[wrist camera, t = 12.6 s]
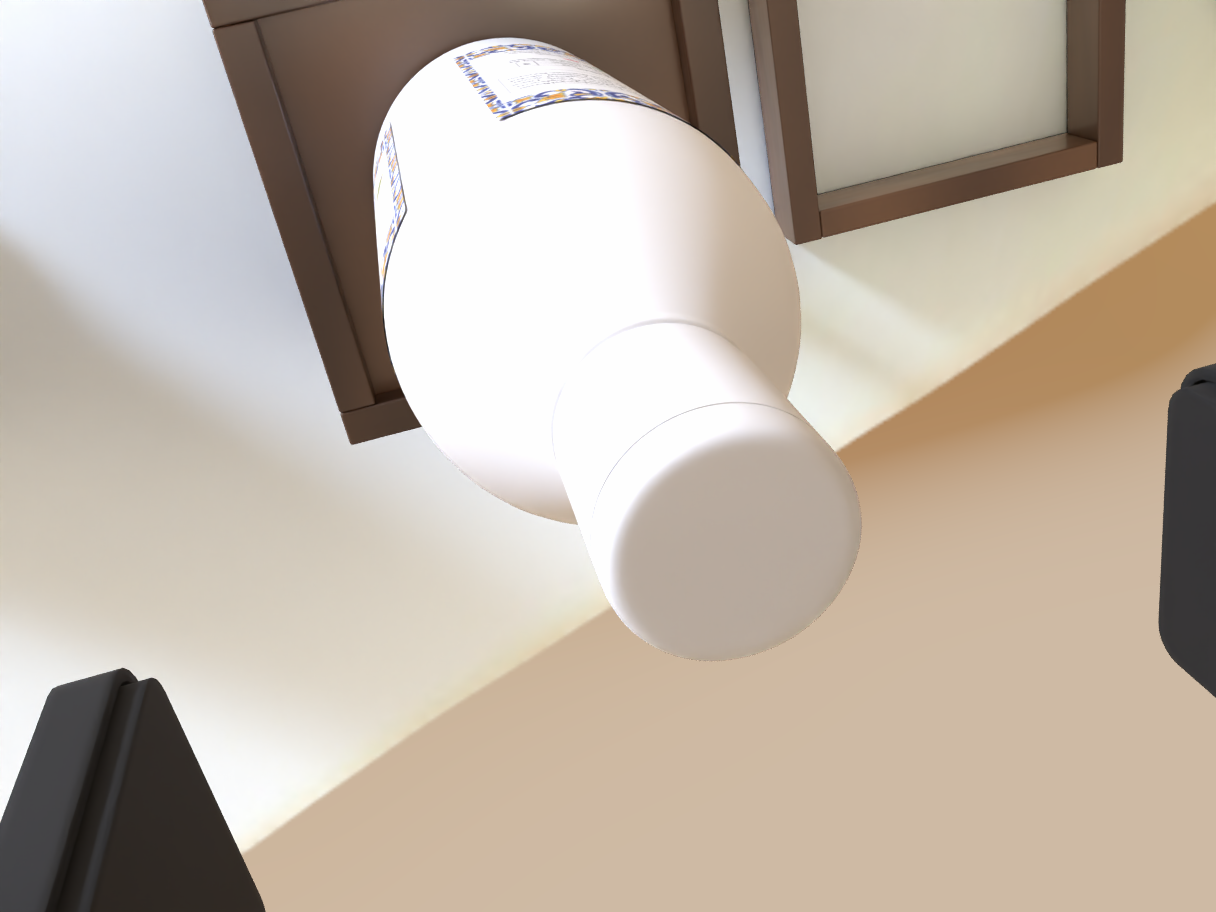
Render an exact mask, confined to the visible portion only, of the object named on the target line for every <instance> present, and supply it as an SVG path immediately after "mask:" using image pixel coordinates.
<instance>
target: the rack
mask: <svg viewBox="0 0 1216 912" xmlns="http://www.w3.org/2000/svg"><path fill="white" fill-rule="evenodd" d="M202 1H203V4H204V7H205V10H206V13H207V16H208V19H209V22H210V25H211V27H212V28H215V29H213V35H214V38H215V41H216V44H217V47H218V50H219V52H220V55H221V58H222V61H223V64H224V67H225V70H226V73H227V76H228V79H229V82H230V85H231V88H232V91H233V94H234V97H235V100H236V103H237V106H238V109H239V112H240V115H241V118H242V121H243V124H244V127H245V130H246V133H247V136H248V139H249V142H250V145H251V148H252V151H253V154H254V157H255V160H256V163H257V166H258V169H259V172H260V175H261V178H262V181H263V184H264V187H265V190H266V193H267V196H268V199H269V202H270V205H271V208H272V211H273V214H274V217H275V220H276V223H277V226H278V229H279V232H280V235H281V238H282V241H283V244H284V247H285V250H286V253H287V256H288V259H289V262H290V265H291V268H292V271H293V274H294V277H295V280H296V283H297V286H298V289H299V292H300V295H301V298H302V301H303V304H304V307H305V310H306V313H307V316H308V319H309V322H310V325H311V328H312V331H313V334H314V337H315V340H316V343H317V346H318V349H319V352H320V355H321V358H322V361H323V364H324V367H325V370H326V373H327V376H328V379H329V382H330V385H331V388H332V391H333V394H334V397H335V400H336V403H337V406H338V409H339V411H340V412H341V418H342V421H343V424H344V427H345V430H346V433H347V436H348V439H349V442H350V443H351V445H354V444H357V443H361V442H365V441H369V440H373V439H377V438H380V437H384V436H388V435H392V434H396V433H400V432H403V431H407V430H411V429H415V428H419V427H422V425H421V424H420V422H419V421H418V419H417V418H416V416H415V414H414V412H413V411H412V409H411V407H410V405H409V403H408V401H407V399H406V397H405V395H404V393H403V391H402V388H401V386H400V384H399V382H398V380H397V377H396V375H395V372H394V370H393V367H392V364H391V361H390V357H389V354H388V350H387V346H386V341H385V335H384V327H383V316H382V303H381V289H380V276H379V262H378V249H377V236H376V222H375V209H374V184H373V168H374V157H375V150H376V145H377V141H378V137H379V134H380V131H381V128H382V125H383V122H384V120H385V118H386V115H387V113H388V111H389V109H390V108H391V106H392V104H393V102H394V101H395V99H396V98H397V96H398V95H399V93H400V92H401V91H402V89H403V88H404V87H405V86H406V84H407V83H408V82H409V81H410V80H411V79H412V78H413V77H414V76H415V75H416V74H417V73H418V72H419V71H420V70H422V69H423V68H424V67H425V66H426V65H428V64H429V63H431V62H432V61H433V60H435V59H436V58H438V57H440V56H441V55H443V54H445V53H447V52H449V51H451V50H453V49H455V48H458V47H460V46H463V45H466V44H469V43H473V42H476V41H481V40H486V39H494V38H521V39H529V40H534V41H539V42H543V43H546V44H550V45H552V46H555V47H558V48H560V49H562V50H565V51H567V52H569V53H571V54H573V55H574V56H576V57H578V58H580V59H582V60H584V61H586V62H588V63H590V64H591V65H593V66H595V67H596V68H598V69H600V70H601V71H603V72H605V73H606V74H608V75H610V76H611V77H613V78H615V79H616V80H618V81H620V82H621V83H623V84H625V85H626V86H628V87H630V88H631V89H633V90H635V91H636V92H638V93H640V94H641V95H643V96H645V97H646V98H648V99H650V100H652V101H653V102H655V103H657V104H658V105H660V106H662V107H663V108H665V109H667V110H668V111H670V112H672V113H673V114H675V115H677V116H678V117H680V118H682V119H683V120H685V121H687V122H688V123H690V124H692V125H693V126H695V127H697V128H698V129H700V130H701V131H703V132H704V133H706V134H707V135H708V136H710V137H711V138H712V139H713V140H715V141H716V142H717V143H718V144H719V145H721V146H722V147H723V148H724V149H725V150H726V151H727V152H728V153H729V154H730V155H731V156H732V158H733V159H734V160H735V161H736V162H737V164H738V165H739V166H740V160H739V152H738V145H737V138H736V130H735V123H734V116H733V109H732V101H731V94H730V87H729V80H728V72H727V65H726V58H725V50H724V43H723V36H722V29H721V21H720V14H719V7H718V0H202ZM748 4H749V12H750V20H751V28H752V36H753V43H754V51H755V59H756V67H757V75H758V83H759V91H760V99H761V107H762V115H763V123H764V131H765V139H766V147H767V155H768V163H769V171H770V179H771V187H772V195H773V202H774V210H775V218H776V220H777V222H778V224H779V226H780V228H781V230H782V233H783V235H784V237H786V238H787V239H788V240H790V241H791V242H792V243H794V244H795V245H798V244H802V243H806V242H810V241H814V240H818V239H821V238H822V237H828V236H832V235H836V234H840V233H844V232H848V231H852V230H856V229H860V228H864V227H868V226H872V225H876V224H879V223H883V222H887V221H891V220H895V219H899V218H903V217H907V216H911V215H915V214H919V213H923V212H927V211H931V210H935V209H939V208H943V207H947V206H950V205H954V204H958V203H962V202H966V201H970V200H974V199H978V198H982V197H986V196H990V195H994V194H998V193H1002V192H1006V191H1010V190H1014V189H1018V188H1021V187H1025V186H1029V185H1033V184H1037V183H1041V182H1045V181H1049V180H1053V179H1057V178H1061V177H1065V176H1069V175H1073V174H1077V173H1081V172H1085V171H1089V170H1092V169H1095V168H1101V167H1105V166H1109V165H1113V164H1117V163H1121V162H1122V161H1123V114H1124V59H1125V4H1126V0H1067V77H1068V133H1064V134H1060V135H1056V136H1052V137H1048V138H1044V139H1040V140H1036V141H1032V142H1028V143H1024V144H1020V145H1016V146H1012V147H1008V148H1004V149H1000V150H996V151H992V152H988V153H984V154H980V155H976V156H972V157H968V158H964V159H960V160H956V161H952V162H948V163H944V164H940V165H936V166H932V167H928V168H924V169H920V170H916V171H912V172H908V173H904V174H900V175H896V176H892V177H888V178H884V179H880V180H876V181H872V182H868V183H864V184H860V185H856V186H852V187H848V188H844V189H840V190H836V191H832V192H828V193H824V194H820V195H817V187H816V178H815V169H814V160H813V150H812V141H811V132H810V122H809V113H808V104H807V94H806V85H805V76H804V66H803V57H802V48H801V38H800V29H799V20H798V10H797V1H796V0H748Z"/></svg>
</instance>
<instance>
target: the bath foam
mask: <svg viewBox="0 0 1216 912" xmlns="http://www.w3.org/2000/svg"><path fill="white" fill-rule="evenodd" d="M373 184H374V209H375V222H376V236H377V249H378V262H379V276H380V289H381V303H382V316H383V327H384V335H385V341H386V346H387V350H388V354H389V357H390V361H391V364H392V367H393V370H394V372H395V375H396V377H397V380H398V382H399V384H400V386H401V388H402V391H403V393H404V395H405V397H406V399H407V401H408V403H409V405H410V407H411V409H412V411H413V412H414V414H415V416H416V418H417V419H418V421H419V422H420V424H421V425H422V427H423V428H424V430H425V431H426V433H427V434H428V435H429V437H430V438H431V439H432V441H433V442H434V443H435V445H436V446H437V447H438V448H439V449H440V451H441V452H442V453H443V454H444V455H445V456H446V457H447V458H448V459H449V460H450V461H451V462H452V463H453V464H454V465H455V466H456V467H457V468H458V469H459V470H460V471H461V472H462V473H464V474H465V475H466V476H467V477H468V478H469V479H471V480H472V481H473V482H474V483H476V484H477V485H479V486H480V487H481V488H483V489H484V490H486V491H488V492H489V493H491V494H492V495H494V496H496V497H497V498H499V499H501V500H503V501H504V502H506V503H508V504H510V505H512V506H514V507H516V508H519V509H521V510H523V511H526V512H529V513H531V514H534V515H537V516H541V517H544V518H548V519H551V520H555V521H559V522H564V523H570V524H576V525H579V527H580V530H581V533H582V535H583V538H584V541H585V543H586V546H587V549H588V551H589V554H590V557H591V559H592V562H593V565H594V567H595V570H596V573H597V575H598V578H599V581H600V583H601V586H602V588H603V591H604V593H605V595H606V597H607V599H608V601H609V603H610V604H611V606H612V608H613V609H614V611H615V612H616V614H617V615H618V616H619V617H620V619H621V620H622V621H623V623H624V624H625V625H626V626H627V627H628V628H629V629H630V630H631V631H632V632H634V633H635V634H636V635H637V636H638V637H640V638H641V639H642V640H644V641H645V642H647V643H648V644H650V645H651V646H653V647H655V648H657V649H659V650H661V651H663V652H666V653H668V654H671V655H674V656H677V657H682V658H686V659H691V660H699V661H725V660H732V659H739V658H743V657H748V656H751V655H755V654H758V653H761V652H763V651H766V650H769V649H772V648H774V647H776V646H778V645H780V644H782V643H784V642H786V641H788V640H789V639H791V638H793V637H794V636H796V635H797V634H799V633H800V632H802V631H803V630H804V629H806V628H807V627H808V626H809V625H811V624H812V623H813V622H814V621H815V620H816V619H817V618H819V617H820V616H821V614H822V613H823V612H824V611H825V610H826V609H827V608H828V607H829V606H830V605H831V603H832V602H833V601H834V600H835V598H836V597H837V596H838V594H839V593H840V591H841V590H842V588H843V586H844V585H845V583H846V581H847V579H848V577H849V575H850V573H851V571H852V569H853V566H854V564H855V561H856V558H857V554H858V550H859V546H860V540H861V529H862V522H861V510H860V504H859V499H858V495H857V491H856V488H855V486H854V483H853V481H852V478H851V476H850V475H849V473H848V471H847V469H846V467H845V465H844V464H843V462H842V461H841V460H840V458H839V457H838V455H837V454H836V453H835V452H834V450H833V449H832V448H831V447H830V446H829V444H828V443H827V442H826V441H825V440H824V439H823V438H822V437H821V436H820V435H819V433H818V432H817V431H816V430H815V429H814V428H813V427H812V426H811V425H810V424H809V422H808V421H807V420H806V419H805V418H804V417H803V416H802V415H801V414H800V413H799V411H798V410H797V409H796V408H795V407H794V406H793V405H792V404H791V403H790V402H789V400H788V399H787V397H788V394H789V391H790V388H791V385H792V381H793V378H794V373H795V369H796V364H797V359H798V354H799V347H800V337H801V310H800V296H799V288H798V282H797V277H796V272H795V268H794V265H793V261H792V258H791V254H790V251H789V248H788V245H787V242H786V240H785V237H784V235H783V233H782V230H781V228H780V226H779V224H778V222H777V220H776V218H775V216H774V214H773V213H772V211H771V209H770V208H769V206H768V204H767V203H766V201H765V200H764V198H763V197H762V195H761V194H760V193H759V191H758V190H757V188H756V187H755V186H754V184H753V183H752V182H751V180H750V179H749V178H748V177H747V175H746V174H745V173H744V171H743V170H742V169H741V167H740V166H739V165H738V164H737V162H736V161H735V160H734V159H733V158H732V156H731V155H730V154H729V153H728V152H727V151H726V150H725V149H724V148H723V147H722V146H721V145H719V144H718V143H717V142H716V141H715V140H713V139H712V138H711V137H710V136H708V135H707V134H706V133H704V132H703V131H701V130H700V129H698V128H697V127H695V126H693V125H692V124H690V123H688V122H687V121H685V120H683V119H682V118H680V117H678V116H677V115H675V114H673V113H672V112H670V111H668V110H667V109H665V108H663V107H662V106H660V105H658V104H657V103H655V102H653V101H652V100H650V99H648V98H646V97H645V96H643V95H641V94H640V93H638V92H636V91H635V90H633V89H631V88H630V87H628V86H626V85H625V84H623V83H621V82H620V81H618V80H616V79H615V78H613V77H611V76H610V75H608V74H606V73H605V72H603V71H601V70H600V69H598V68H596V67H595V66H593V65H591V64H590V63H588V62H586V61H584V60H582V59H580V58H578V57H576V56H574V55H573V54H571V53H569V52H567V51H565V50H562V49H560V48H558V47H555V46H552V45H550V44H546V43H543V42H539V41H534V40H529V39H521V38H494V39H486V40H481V41H476V42H473V43H469V44H466V45H463V46H460V47H458V48H455V49H453V50H451V51H449V52H447V53H445V54H443V55H441V56H440V57H438V58H436V59H435V60H433V61H432V62H431V63H429V64H428V65H426V66H425V67H424V68H423V69H422V70H420V71H419V72H418V73H417V74H416V75H415V76H414V77H413V78H412V79H411V80H410V81H409V82H408V83H407V84H406V86H405V87H404V88H403V89H402V91H401V92H400V93H399V95H398V96H397V98H396V99H395V101H394V102H393V104H392V106H391V108H390V109H389V111H388V113H387V115H386V118H385V120H384V122H383V125H382V128H381V131H380V134H379V137H378V141H377V145H376V150H375V157H374V168H373Z"/></svg>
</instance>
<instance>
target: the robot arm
mask: <svg viewBox="0 0 1216 912" xmlns="http://www.w3.org/2000/svg"><path fill="white" fill-rule="evenodd" d="M1161 558H1162V559H1161V580H1160V601H1159V631H1160V636H1161V639H1162V642H1163V644H1164V646H1165V648H1166V650H1167V652H1168V653H1169V655H1170V656H1171V658H1172V659H1173V660H1174V661H1175V662H1176V663H1177V664H1178V665H1179V666H1180V667H1181V668H1183V669H1184V670H1185V671H1186V672H1187V673H1188V674H1189V675H1191V676H1192V677H1193V678H1194V679H1195V680H1196V681H1197V682H1199V683H1200V684H1201V685H1202V686H1203V687H1204V688H1205V689H1207V690H1208V691H1209V692H1210V693H1211V694H1212V695H1213V696H1215V697H1216V364H1212V365H1209V366H1205V367H1201V368H1198V369H1194V370H1192V371H1191V372H1190V373H1189V374H1187V375H1186V377H1185V379H1184V380H1183V382H1182V384H1181V389H1180V390H1178V391H1176V392H1175V393H1174V394H1173V395H1172V397H1171V399H1170V402H1169V408H1168V425H1167V448H1166V470H1165V491H1164V513H1163V535H1162V557H1161ZM0 912H265V908H264V904H263V902H262V899H261V896H260V894H259V892H258V890H257V888H256V886H255V883H254V881H253V879H252V877H251V875H250V873H249V871H248V868H247V866H246V864H245V862H244V860H243V858H242V856H241V853H240V851H239V849H238V847H237V845H236V843H235V840H234V838H233V836H232V834H231V832H230V830H229V828H228V825H227V823H226V821H225V819H224V817H223V815H222V813H221V810H220V808H219V806H218V804H217V802H216V800H215V798H214V795H213V793H212V791H211V789H210V787H209V785H208V783H207V780H206V778H205V776H204V774H203V772H202V770H201V767H200V765H199V763H198V761H197V759H196V757H195V755H194V752H193V750H192V748H191V746H190V744H189V742H188V740H187V737H186V735H185V733H184V731H183V729H182V727H181V725H180V722H179V720H178V718H177V716H176V714H175V712H174V710H173V707H172V705H171V703H170V701H169V699H168V697H167V694H166V692H165V691H164V689H163V687H162V685H161V684H160V683H159V682H158V680H157V679H154V678H149V679H145V680H142V681H138V680H137V679H136V677H135V676H134V675H133V674H132V673H131V672H130V671H129V670H127V669H125V668H121V669H117V670H114V671H110V672H107V673H103V674H99V675H96V676H92V677H89V678H85V679H82V680H78V681H74V682H71V683H67V684H64V685H60V686H57V687H55V688H53V689H52V690H51V692H50V693H49V695H48V697H47V699H46V702H45V705H44V708H43V710H42V713H41V716H40V718H39V721H38V724H37V726H36V729H35V732H34V734H33V737H32V740H31V742H30V745H29V748H28V750H27V753H26V756H25V758H24V761H23V764H22V766H21V769H20V772H19V774H18V777H17V780H16V782H15V785H14V788H13V790H12V793H11V796H10V798H9V801H8V804H7V806H6V809H5V812H4V814H3V817H2V820H1V822H0Z"/></svg>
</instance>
